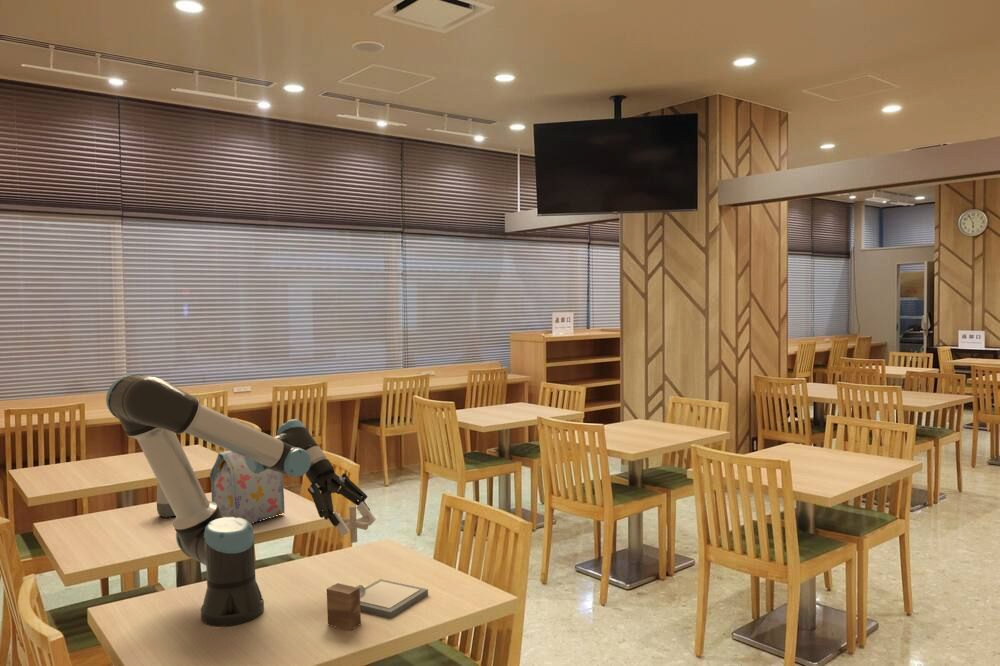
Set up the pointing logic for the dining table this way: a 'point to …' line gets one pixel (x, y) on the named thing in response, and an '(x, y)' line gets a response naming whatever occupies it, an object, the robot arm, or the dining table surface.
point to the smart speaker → (163, 504)
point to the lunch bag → (245, 489)
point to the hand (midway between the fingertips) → (359, 528)
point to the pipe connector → (355, 523)
